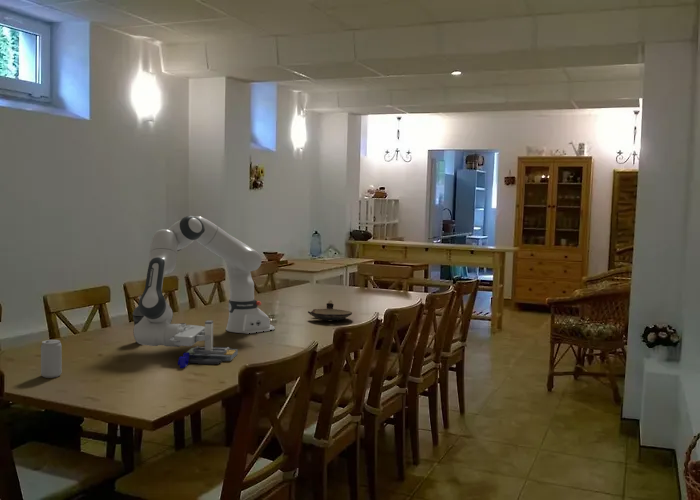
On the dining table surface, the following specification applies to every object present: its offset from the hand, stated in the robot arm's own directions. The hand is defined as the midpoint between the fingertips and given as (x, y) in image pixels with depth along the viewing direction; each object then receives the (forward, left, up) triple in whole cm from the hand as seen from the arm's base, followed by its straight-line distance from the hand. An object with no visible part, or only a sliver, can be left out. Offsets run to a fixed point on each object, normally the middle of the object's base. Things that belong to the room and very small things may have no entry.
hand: (211, 336), depth 253 cm
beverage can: (+57, +4, -8) cm, 58 cm away
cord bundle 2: (+5, +9, -8) cm, 13 cm away
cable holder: (+13, +8, -8) cm, 17 cm away
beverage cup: (+19, -35, -8) cm, 40 cm away
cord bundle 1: (-5, -8, -8) cm, 13 cm away
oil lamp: (-80, -51, -8) cm, 95 cm away
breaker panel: (0, 0, -8) cm, 8 cm away
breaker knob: (+1, 0, -6) cm, 6 cm away
